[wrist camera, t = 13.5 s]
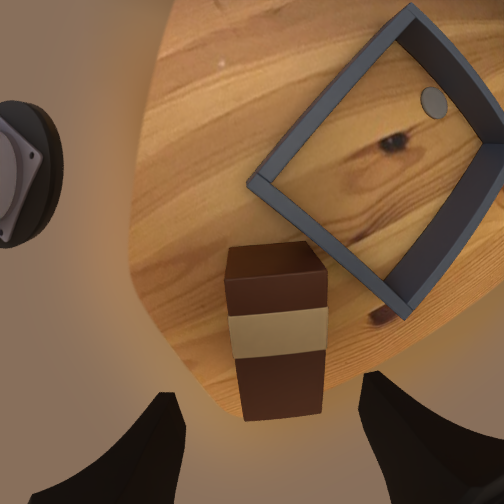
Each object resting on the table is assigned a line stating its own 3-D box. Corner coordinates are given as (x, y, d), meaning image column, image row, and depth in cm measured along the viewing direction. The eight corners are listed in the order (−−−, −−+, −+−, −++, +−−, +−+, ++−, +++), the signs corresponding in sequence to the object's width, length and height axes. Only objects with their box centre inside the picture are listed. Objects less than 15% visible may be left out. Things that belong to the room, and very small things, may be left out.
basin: (245, 182, 17) (245, 186, 13) (387, 21, 14) (411, 1, 10) (381, 296, 19) (404, 321, 16) (491, 144, 16) (523, 145, 13)
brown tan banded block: (243, 370, 20) (243, 422, 15) (228, 246, 18) (222, 279, 13) (307, 363, 20) (322, 414, 15) (306, 240, 18) (329, 269, 13)
